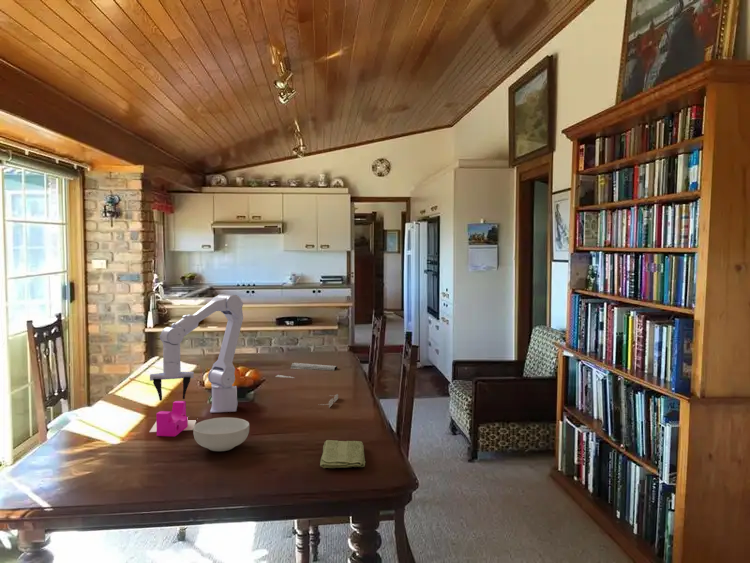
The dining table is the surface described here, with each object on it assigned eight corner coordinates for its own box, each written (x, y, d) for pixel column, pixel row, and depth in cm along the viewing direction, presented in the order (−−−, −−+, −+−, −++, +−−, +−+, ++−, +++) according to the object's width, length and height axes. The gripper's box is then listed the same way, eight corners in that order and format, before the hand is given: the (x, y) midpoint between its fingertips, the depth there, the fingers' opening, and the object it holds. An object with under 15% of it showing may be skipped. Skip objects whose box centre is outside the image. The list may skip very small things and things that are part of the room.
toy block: (175, 436, 185) (174, 413, 184) (156, 435, 185) (156, 413, 184) (192, 422, 199) (192, 401, 199) (175, 421, 200) (175, 400, 199)
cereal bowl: (219, 461, 163) (219, 437, 163) (181, 450, 172) (181, 427, 172) (260, 444, 178) (260, 422, 177) (223, 434, 186) (223, 413, 186)
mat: (274, 382, 262) (273, 372, 262) (294, 371, 285) (294, 362, 285) (320, 385, 256) (320, 375, 256) (337, 373, 279) (337, 364, 278)
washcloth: (319, 470, 158) (319, 459, 157) (323, 448, 175) (323, 438, 175) (365, 470, 158) (365, 458, 158) (365, 448, 176) (365, 438, 175)
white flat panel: (199, 413, 211) (199, 412, 211) (192, 430, 191) (192, 429, 191) (160, 415, 208) (160, 414, 208) (149, 432, 189) (149, 431, 189)
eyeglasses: (328, 412, 215) (328, 401, 214) (308, 410, 216) (308, 400, 216) (338, 402, 228) (338, 392, 228) (319, 401, 230) (319, 391, 230)
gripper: (193, 358, 205) (193, 394, 205) (150, 360, 200) (151, 397, 201) (193, 361, 198) (193, 399, 199) (149, 363, 194) (149, 402, 194)
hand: (172, 399), depth 199 cm, fingers open, 7 cm apart
